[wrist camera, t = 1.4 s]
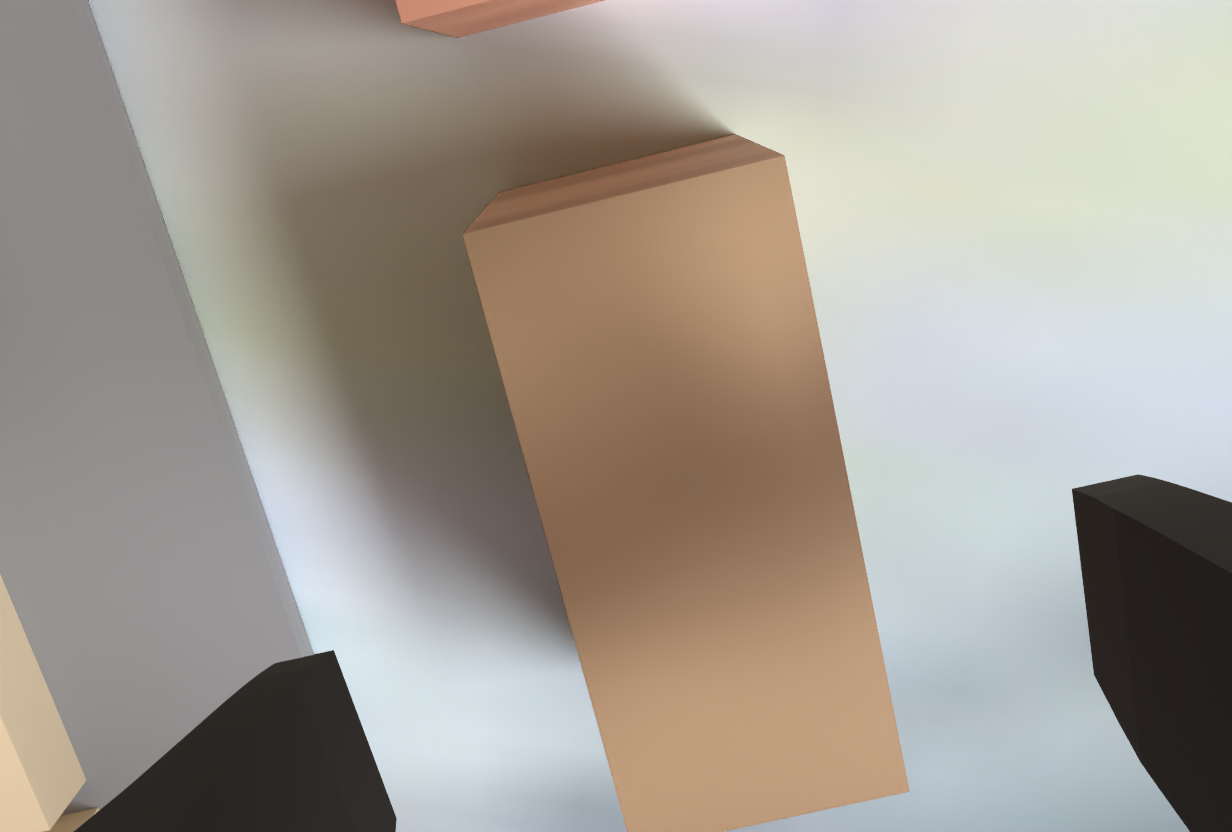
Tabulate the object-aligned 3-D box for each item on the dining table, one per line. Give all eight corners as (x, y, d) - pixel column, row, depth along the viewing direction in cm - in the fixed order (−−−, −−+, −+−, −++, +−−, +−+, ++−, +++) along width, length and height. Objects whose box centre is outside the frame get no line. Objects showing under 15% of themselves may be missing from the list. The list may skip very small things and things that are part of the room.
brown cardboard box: (834, 618, 22) (909, 791, 17) (624, 665, 22) (632, 851, 17) (734, 134, 19) (784, 154, 14) (499, 191, 20) (462, 234, 14)
